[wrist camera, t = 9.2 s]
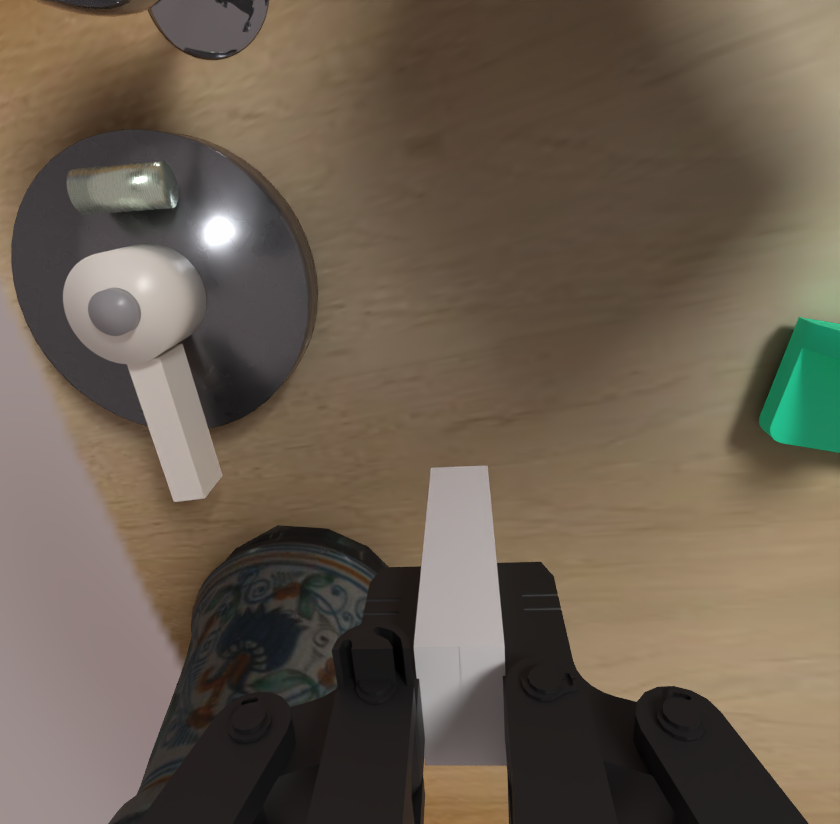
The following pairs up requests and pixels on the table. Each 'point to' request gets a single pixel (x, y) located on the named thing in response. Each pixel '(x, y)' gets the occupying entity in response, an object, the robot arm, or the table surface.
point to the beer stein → (261, 636)
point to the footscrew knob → (150, 348)
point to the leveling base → (187, 234)
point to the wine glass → (187, 21)
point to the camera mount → (807, 389)
